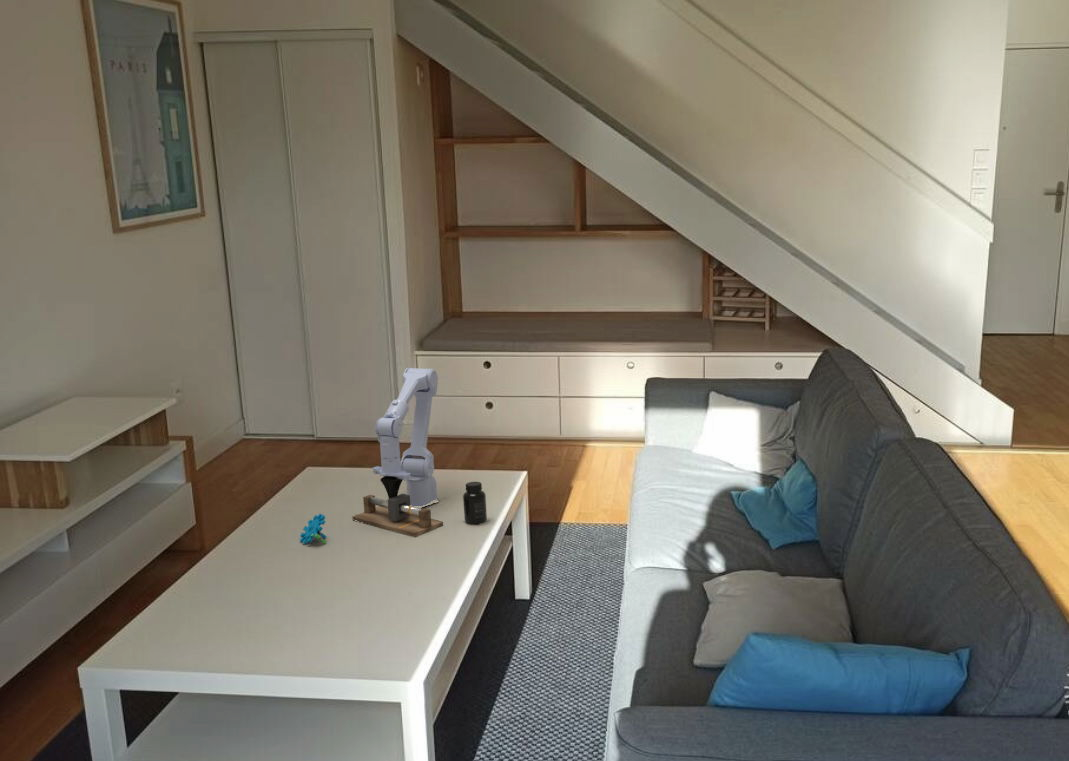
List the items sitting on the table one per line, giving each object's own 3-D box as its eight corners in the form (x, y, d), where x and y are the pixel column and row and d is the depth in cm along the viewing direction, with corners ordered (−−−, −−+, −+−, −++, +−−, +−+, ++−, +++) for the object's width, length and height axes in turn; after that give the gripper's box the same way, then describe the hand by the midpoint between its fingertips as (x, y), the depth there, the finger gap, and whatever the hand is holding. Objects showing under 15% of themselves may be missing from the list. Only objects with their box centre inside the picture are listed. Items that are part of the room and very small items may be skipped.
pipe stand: (381, 509, 318) (379, 490, 317) (443, 525, 302) (442, 504, 301) (352, 520, 309) (351, 500, 308) (415, 537, 293) (413, 516, 292)
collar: (404, 513, 308) (402, 493, 307) (411, 515, 306) (409, 495, 305) (388, 519, 303) (387, 499, 302) (395, 521, 301) (394, 500, 300)
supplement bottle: (488, 517, 307) (486, 480, 305) (485, 525, 301) (483, 487, 298) (466, 517, 308) (464, 480, 306) (462, 525, 302) (460, 487, 299)
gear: (296, 531, 296) (319, 506, 296) (311, 542, 299) (333, 517, 299) (301, 549, 286) (325, 523, 286) (317, 559, 289) (340, 534, 289)
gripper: (364, 456, 304) (367, 498, 306) (397, 463, 295) (400, 507, 297) (381, 450, 309) (384, 492, 312) (414, 457, 300) (417, 500, 303)
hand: (393, 499), depth 305 cm, fingers closed
